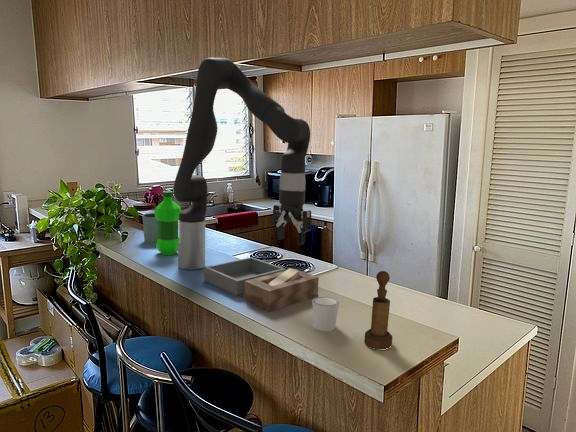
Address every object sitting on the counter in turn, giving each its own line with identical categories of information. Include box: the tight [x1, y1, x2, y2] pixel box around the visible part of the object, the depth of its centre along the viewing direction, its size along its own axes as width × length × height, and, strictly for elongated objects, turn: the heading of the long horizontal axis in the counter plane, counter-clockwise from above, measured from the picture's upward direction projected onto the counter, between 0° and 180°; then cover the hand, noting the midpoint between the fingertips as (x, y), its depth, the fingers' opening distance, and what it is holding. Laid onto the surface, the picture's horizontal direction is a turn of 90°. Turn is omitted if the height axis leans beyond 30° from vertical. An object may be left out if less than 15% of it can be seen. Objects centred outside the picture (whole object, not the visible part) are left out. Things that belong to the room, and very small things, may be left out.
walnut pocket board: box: [243, 268, 320, 312], centre depth 133 cm, size 20×11×6 cm, turn 133°
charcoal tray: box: [203, 256, 287, 298], centre depth 146 cm, size 20×18×5 cm
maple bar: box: [268, 267, 300, 286], centre depth 132 cm, size 12×4×2 cm, turn 133°
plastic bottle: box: [153, 190, 182, 256], centre depth 176 cm, size 10×10×25 cm
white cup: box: [311, 296, 340, 332], centre depth 114 cm, size 7×7×7 cm
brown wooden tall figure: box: [363, 270, 393, 350], centre depth 104 cm, size 7×6×18 cm
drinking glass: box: [141, 212, 158, 245], centre depth 196 cm, size 10×10×12 cm
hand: (290, 242), depth 132 cm, fingers open, 8 cm apart
